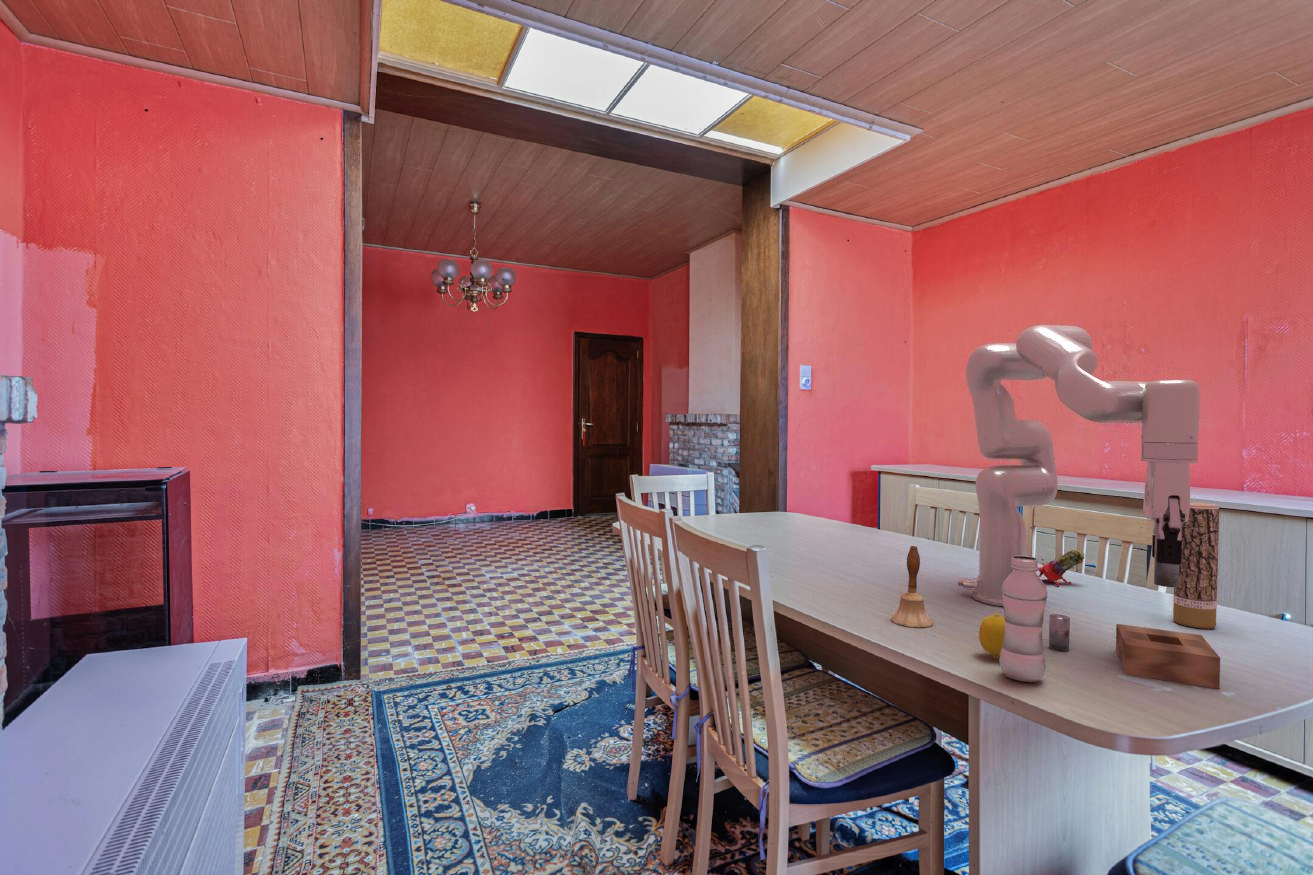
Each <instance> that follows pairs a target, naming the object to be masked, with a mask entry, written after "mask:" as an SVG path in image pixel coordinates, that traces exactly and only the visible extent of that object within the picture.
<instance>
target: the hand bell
mask: <svg viewBox="0 0 1313 875" xmlns="http://www.w3.org/2000/svg"><path fill="white" fill-rule="evenodd" d="M920 556H921V555H920V552H919V550H918V546H916V545H910V548H909V550H908V554H907V557H906V568H907V572H908V582H907V583H908V586H907V592H905V593H903V594H901V595H900V599H899V600H900V601H899V605H898V608H897V610H896V611H895V613H893V614H892V615H891V616H890V621H891V620H892V621H891V622H892V623H893V624H896V625H899V624H900V625H899V626H902V625H904V627H907V628H908V627H909V628H914V627H918V629H920V628H919V627H926V628H929V627H930V628H931V627H933V625H934V622H933V620H932V619H931V618H930V617H929V615H928V613H927V611H926V608H925V603H924V602H925V600H924V597H923V596H922V595H920V594H918V592H917V588H918V586H917V585H918V583H917V582H918V579H917V578H918V573H919V571H920V567H921V566H920V565H921V558H920Z"/></svg>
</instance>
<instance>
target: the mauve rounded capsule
mask: <svg viewBox="0 0 1313 875" xmlns="http://www.w3.org/2000/svg"><path fill="white" fill-rule="evenodd" d="M1048 618H1049V620H1048V623H1049V624H1048V649H1050V650H1052V651H1055V652H1061V653H1067V652H1070V640H1071V639H1070V633H1071V631H1070V630H1071V617H1069V616H1068V615H1065V614H1058V613H1057V614H1056V613H1052V614H1049V617H1048Z"/></svg>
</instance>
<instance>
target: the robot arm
mask: <svg viewBox="0 0 1313 875" xmlns="http://www.w3.org/2000/svg"><path fill="white" fill-rule="evenodd" d="M1092 340H1093V339H1092V337H1091V335H1090V334H1089V333H1088V331H1087V330H1085V329H1084V328H1082V327H1079V326H1076V325H1064V324H1063V325H1061V324H1060V325H1059V324H1058V325H1057V324H1038V325H1034V326H1030V327H1028V328H1025V329H1024V330H1023V331H1022V332H1020V334H1019V335H1018V336H1017V338H1016V340H1015V343H1014V342H1012V343H1011V342H995V343H987V344H984V345H981V346H978V347H976V348H975V349H974V350H973V351H972V352H971V354H970V355H969V356H968V359H967V362H966V367H965V379H966V384H967V387H968V392H969V394H970V397H971V400H972V403H973V410H974V411H973V413H974V422H975V423H974V424H975V430H976V439H977V446H978V450H979V452H980V454H981V455H982V457H984V458H985V459H988V460H994V461H995V460H999V461H1004V460H1005V461H1013V460H1014V461H1019V462H1020V464H1019V465H1018V464H1014V465H1013V464H1009V465H1007V464H1003V465H1000V464H999V465H993V466H988V467H986V468H984V469H981V471H980V472H978V474H977V475H976V478H975V492H976V497H977V502H978V511H979V549H978V550H979V554H978V556H979V558H978V562H979V564H978V565H979V566H978V575H977V578H975V577H973V578H972V579H971V578H966V577H958V578H957V579H958V581H957V586H959V587H962V588H964V589H965V588H966V589H973V590H972V591H971V597H972V598H973V600H975V601H978V602H980V603H984V604H987V605H992V606H996V607H997V606H999V607H1004V605H1003V597H1002V585H1003V582H1004V581H1005V580H1006V578H1007V577H1008V576H1009V575H1010V574H1011V573H1012V572H1013V569H1012V568H1011V564H1012V556H1027V527H1026V522H1025V519H1024V517H1023V516H1022V514H1021V513H1020V511H1019V509H1018V507H1022V506H1023V507H1030V506H1037V507H1038V506H1045V505H1048V504H1050V503H1052V502H1053V501H1054V500H1055V498H1056V496H1057V493H1058V491H1059V490H1058V489H1059V486H1058V485H1059V482H1058V472H1057V465H1056V458H1055V452H1054V451H1055V450H1054V445H1053V439H1052V435H1051V433H1050V431H1049V429H1048V428H1047V427H1046V426H1045V425H1044V424H1043V423H1042V422H1040V421H1038V420H1035V419H1018V418H1017V415H1016V410H1015V402H1014V399H1013V397H1012V395H1011V393H1010V392H1009V390H1008V389H1007V387H1005V385H1004V384H1002V382H1001V381H1002V380H1003V381H1007V380H1008V381H1036V380H1042V379H1045V378H1050V380H1052V381H1054V389H1055V392H1056V396H1057V397H1058V400H1059V401H1060V402H1061V403H1062V404H1063V405H1064V406H1065V407H1066V408H1068V409H1070V410H1071V411H1072V412H1074V413H1075V414H1077V415H1078V416H1080V417H1081V418H1083V419H1085V420H1088V421H1089V422H1093V423H1099V424H1113V423H1115V424H1117V423H1118V424H1141V435H1140V436H1141V437H1140V439H1141V440H1140V441H1141V447H1140V449H1141V450H1140V452H1141V453H1140V461H1141V462H1146V469H1145V475H1144V476H1145V478H1144V492H1143V505H1142V507H1143V508H1142V513H1143V515H1145V516H1146V517H1147V518H1148V519H1150V520H1151V521H1153V529H1152V532H1153V534H1152V542H1151V543H1152V544H1151V546H1152V548H1151V557H1152V558H1153V559H1155V523H1156V520H1157V518H1159V539H1157V556H1156V561H1157V562H1158V563H1164V564H1175V565H1180V564H1181V557H1182V541H1181V524H1182V523H1184V522H1186V521H1188V519H1189V511H1190V502H1191V467H1190V466H1191V464H1198V463H1199V446H1200V445H1199V443H1200V442H1199V439H1200V438H1199V437H1200V436H1199V435H1200V403H1201V402H1200V401H1201V398H1200V397H1201V388H1200V385H1199V384H1198V383H1197V382H1196V381H1194V380H1190V379H1161V380H1152V381H1141V380H1140V381H1137V380H1136V381H1134V380H1133V381H1131V380H1129V381H1128V380H1102V379H1099V378H1097V377H1095V376H1093V375H1094V373H1095V372H1096V369H1097V367H1098V363H1099V362H1098V361H1099V360H1098V357H1097V356H1098V355H1097V354H1096V352H1094V350H1093V341H1092ZM1165 517H1169V521H1163V518H1165ZM1181 522H1182V523H1181ZM1164 524H1165V525H1166V526H1165V527H1164ZM1164 529H1165V530H1164Z"/></svg>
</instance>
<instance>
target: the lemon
mask: <svg viewBox="0 0 1313 875" xmlns="http://www.w3.org/2000/svg"><path fill="white" fill-rule="evenodd" d="M1004 622H1005V619H1004V617H1003V616H1002V615H1000V614H999V613H994V614H992V615H988V616H986V617H985V618H984V619H982V621H981V623H980V625H979V629H978V630H979V631H978V641H979V643H980V645H981V647H982V648H983V650H984V651H985V652H987V653H988V654H990V655H991V656H992V657H993V658H994V659H999V658H1000V652H1001V649H1002V647H1003V646H1002V645H1003V637H1004V629H1005V623H1004Z"/></svg>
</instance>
